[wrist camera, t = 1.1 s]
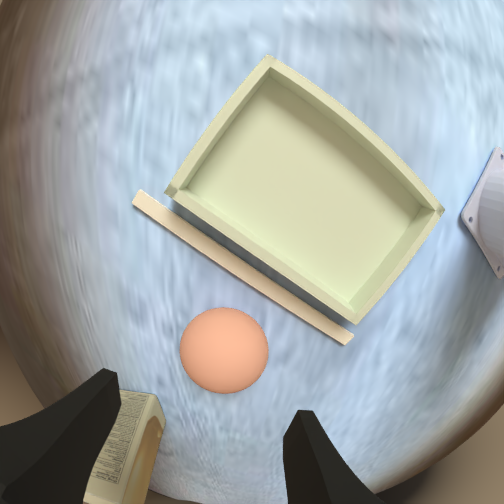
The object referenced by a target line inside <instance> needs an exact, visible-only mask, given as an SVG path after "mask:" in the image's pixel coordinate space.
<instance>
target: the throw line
mask: <svg viewBox="0 0 504 504" xmlns="http://www.w3.org/2000/svg"><path fill="white" fill-rule="evenodd" d="M132 204H134V205H135V206H137V207H138V208H139V209H141V210H142V211H143V212H145V213H146V214H148V215H149V216H151V217H152V218H153V219H155V220H156V221H158V222H159V223H160V224H162V225H163V226H165V227H166V228H167V229H169V230H170V231H172V232H173V233H175V234H176V235H177V236H179V237H180V238H182V239H183V240H185V241H186V242H188V243H189V244H190V245H192V246H193V247H195V248H196V249H198V250H199V251H201V252H202V253H204V254H205V255H206V256H208V257H209V258H211V259H212V260H214V261H215V262H217V263H218V264H220V265H221V266H223V267H224V268H226V269H227V270H229V271H230V272H232V273H233V274H235V275H236V276H238V277H239V278H241V279H242V280H244V281H245V282H247V283H248V284H250V285H251V286H253V287H254V288H256V289H257V290H259V291H260V292H262V293H263V294H265V295H266V296H268V297H270V298H271V299H273V300H274V301H276V302H277V303H279V304H280V305H282V306H283V307H285V308H286V309H288V310H290V311H291V312H293V313H294V314H296V315H297V316H299V317H301V318H302V319H304V320H305V321H307V322H308V323H310V324H312V325H313V326H315V327H316V328H318V329H320V330H321V331H323V332H324V333H326V334H328V335H329V336H331V337H332V338H334V339H336V340H337V341H339V342H340V343H342V344H344V345H346V344H347V343H348V342H349V341H350V340H351V339H352V338H353V337H354V335H353V334H352V333H351V332H349V331H348V330H346V329H345V328H343V327H342V326H340V325H339V324H337V323H336V322H334V321H333V320H331V319H330V318H328V317H327V316H325V315H324V314H322V313H321V312H319V311H318V310H316V309H315V308H313V307H312V306H310V305H309V304H307V303H306V302H304V301H303V300H301V299H300V298H298V297H297V296H295V295H294V294H292V293H291V292H289V291H288V290H286V289H285V288H283V287H282V286H280V285H279V284H277V283H276V282H274V281H273V280H271V279H270V278H269V277H267V276H266V275H264V274H263V273H261V272H260V271H258V270H257V269H255V268H254V267H252V266H251V265H249V264H248V263H246V262H245V261H244V260H242V259H241V258H239V257H238V256H236V255H235V254H233V253H232V252H230V251H229V250H227V249H226V248H225V247H223V246H222V245H220V244H219V243H217V242H216V241H214V240H213V239H211V238H210V237H209V236H207V235H206V234H204V233H203V232H201V231H200V230H198V229H197V228H195V227H194V226H193V225H191V224H190V223H188V222H187V221H185V220H184V219H182V218H181V217H180V216H178V215H177V214H175V213H174V212H172V211H171V210H170V209H168V208H167V207H165V206H164V205H162V204H161V203H160V202H158V201H157V200H155V199H154V198H152V197H151V196H150V195H148V194H147V193H145V192H144V191H142V190H141V189H140V190H139V191H138V193H137V194H136V196H135V198H134V200H133V202H132Z"/></svg>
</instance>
